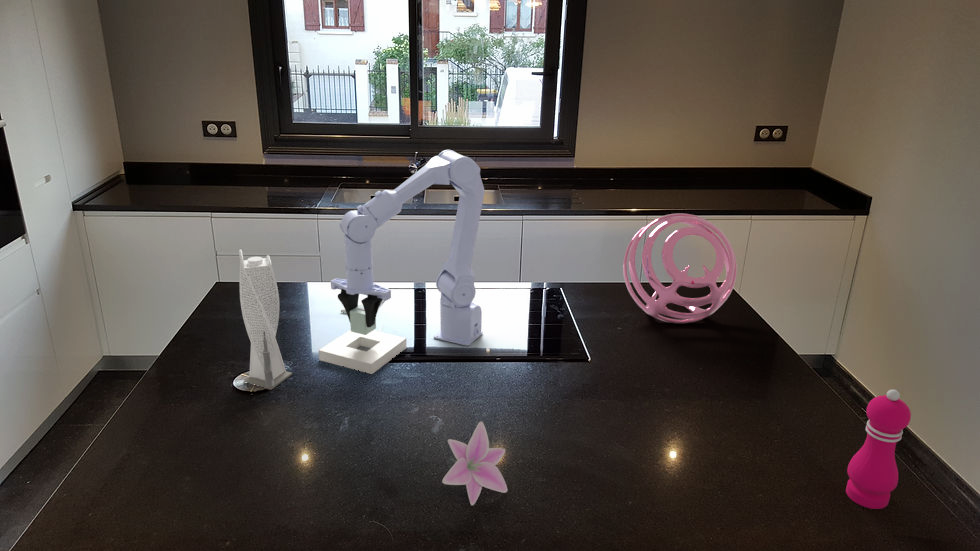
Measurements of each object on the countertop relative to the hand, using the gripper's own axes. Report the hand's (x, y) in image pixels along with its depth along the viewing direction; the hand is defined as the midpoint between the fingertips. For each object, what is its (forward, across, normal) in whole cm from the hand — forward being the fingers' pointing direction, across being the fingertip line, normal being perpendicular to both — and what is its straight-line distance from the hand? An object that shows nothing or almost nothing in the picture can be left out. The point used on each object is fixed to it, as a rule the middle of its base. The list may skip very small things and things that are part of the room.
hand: (362, 323), depth 154 cm
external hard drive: (+8, -16, +23) cm, 29 cm away
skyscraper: (+8, -12, -18) cm, 23 cm away
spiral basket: (+8, +59, +54) cm, 80 cm away
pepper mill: (+8, +102, -4) cm, 102 cm away
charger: (+2, 0, 0) cm, 2 cm away
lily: (+8, +44, -31) cm, 54 cm away
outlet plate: (+8, 0, 0) cm, 8 cm away
